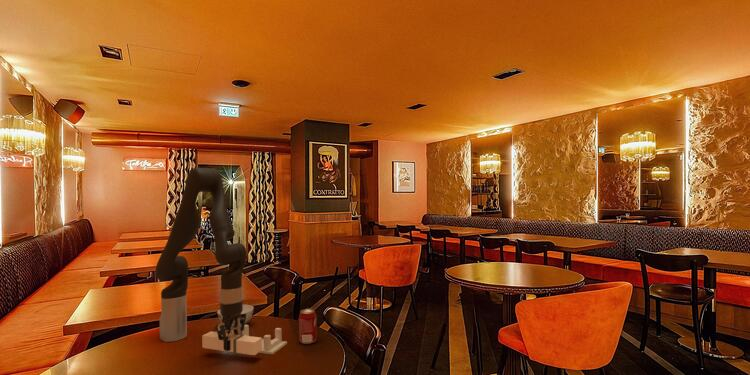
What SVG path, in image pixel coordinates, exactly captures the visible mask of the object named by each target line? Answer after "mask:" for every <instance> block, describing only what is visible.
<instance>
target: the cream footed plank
mask: <svg viewBox="0 0 750 375" xmlns="http://www.w3.org/2000/svg"><path fill="white" fill-rule="evenodd" d="M249 328H250V326H249V324H245V326H244V330H243V331H241V335H244V336H250V330H249ZM282 332H283V330H282V327H276V328H275V329H274V338H273V339H271V338H272V336H271V334H265V335H264V336H263V338H262V350H261V351H260V352H258V353H259V354H267V355H274V354H276V353H277V352H278V351H279V350H280V349H282V348H283V347H284V346H286V345H287V344H288V341H283V339H282V334H283V333H282ZM231 334H234V333H233V332H232V333H231ZM258 353H257V354H258Z"/></svg>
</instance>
